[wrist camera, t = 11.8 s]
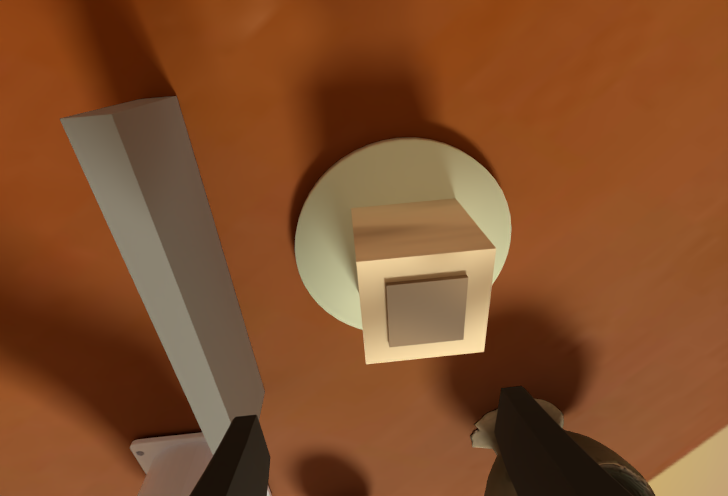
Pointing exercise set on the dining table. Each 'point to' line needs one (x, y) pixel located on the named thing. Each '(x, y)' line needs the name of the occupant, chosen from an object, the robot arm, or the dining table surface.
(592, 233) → the dining table surface
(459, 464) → the dining table surface
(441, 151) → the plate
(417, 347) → the cube
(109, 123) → the grey rectangular bar
